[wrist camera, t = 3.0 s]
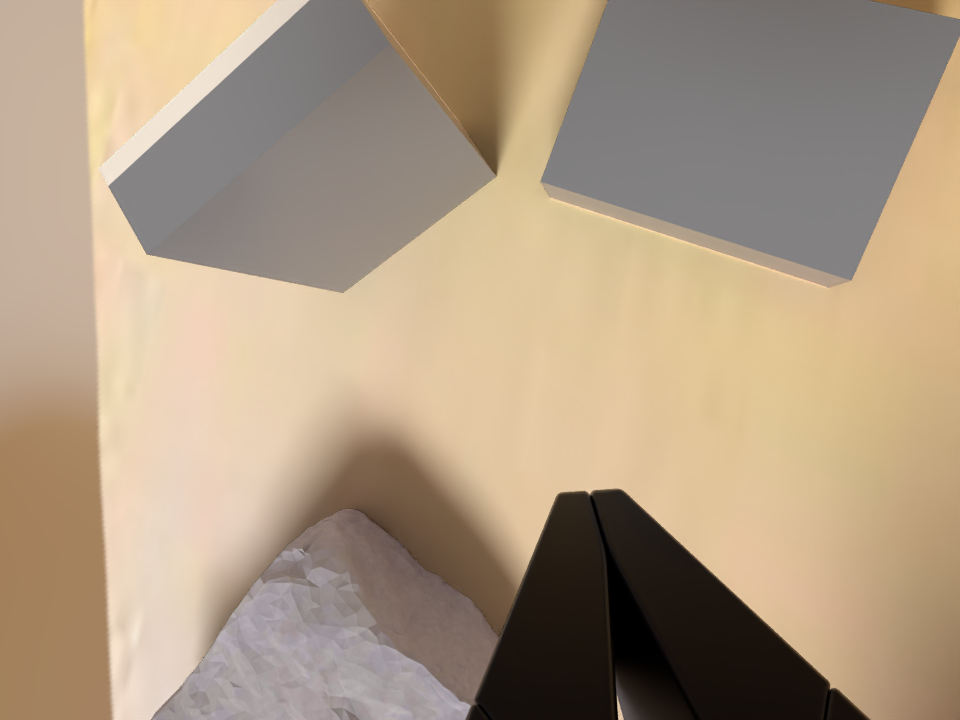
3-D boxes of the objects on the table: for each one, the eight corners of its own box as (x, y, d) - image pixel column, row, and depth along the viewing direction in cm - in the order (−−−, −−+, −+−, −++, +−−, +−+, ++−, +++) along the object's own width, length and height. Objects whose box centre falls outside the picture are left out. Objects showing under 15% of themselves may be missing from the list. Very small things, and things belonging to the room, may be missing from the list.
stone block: (552, 637, 22) (339, 475, 22) (552, 741, 17) (280, 536, 17) (375, 831, 24) (183, 686, 24) (333, 968, 20) (95, 789, 20)
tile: (496, 176, 20) (390, 43, 11) (342, 292, 22) (147, 254, 13) (459, 121, 20) (328, -49, 12) (311, 240, 22) (98, 168, 13)
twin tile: (921, 64, 17) (966, 20, 15) (823, 289, 18) (851, 280, 16) (628, -3, 19) (627, -51, 17) (551, 201, 20) (540, 181, 18)
